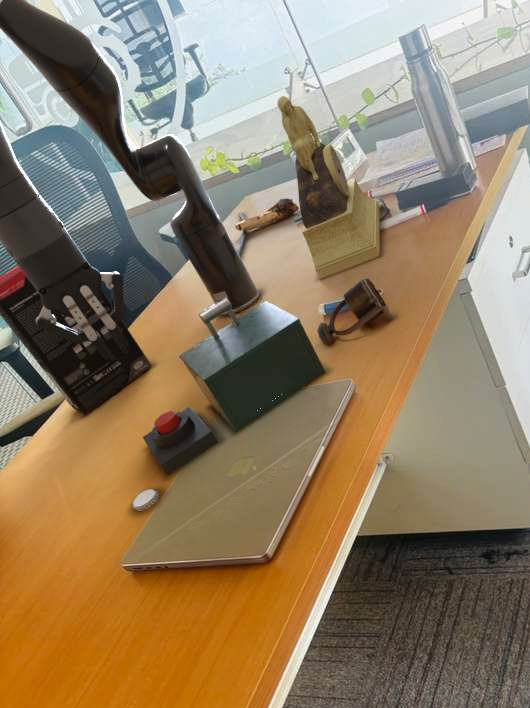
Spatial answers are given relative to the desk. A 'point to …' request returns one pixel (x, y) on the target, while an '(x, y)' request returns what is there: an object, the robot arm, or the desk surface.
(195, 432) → the switch block
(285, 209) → the bone fish hook
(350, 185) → the decorative clock
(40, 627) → the desk surface
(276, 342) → the dark green open box
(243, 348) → the lid
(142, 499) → the bottle cap
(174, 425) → the button
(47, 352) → the graphics card box
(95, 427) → the desk surface
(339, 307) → the brown handled cylinder
